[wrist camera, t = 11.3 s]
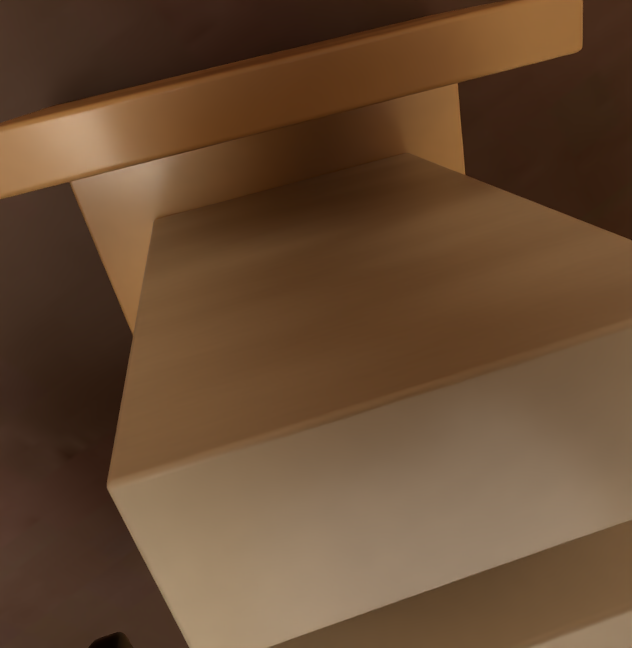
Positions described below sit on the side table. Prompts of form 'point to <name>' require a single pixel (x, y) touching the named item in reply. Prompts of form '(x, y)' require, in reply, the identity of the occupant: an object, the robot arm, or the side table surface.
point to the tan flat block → (510, 605)
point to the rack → (343, 325)
